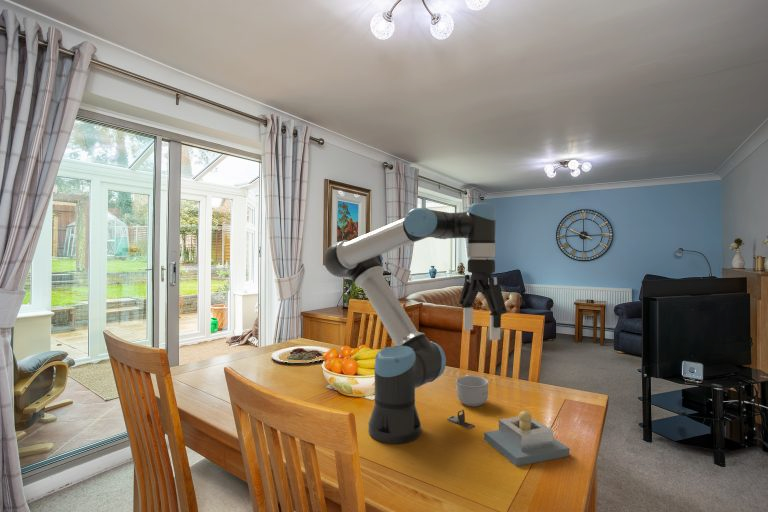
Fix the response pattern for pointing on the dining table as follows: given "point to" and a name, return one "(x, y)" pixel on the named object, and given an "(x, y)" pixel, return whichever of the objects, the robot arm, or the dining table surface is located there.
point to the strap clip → (460, 420)
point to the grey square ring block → (525, 434)
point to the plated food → (300, 353)
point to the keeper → (529, 455)
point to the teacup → (472, 390)
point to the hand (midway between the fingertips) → (480, 334)
